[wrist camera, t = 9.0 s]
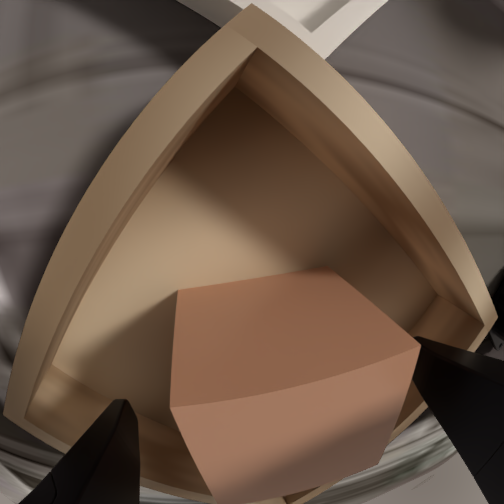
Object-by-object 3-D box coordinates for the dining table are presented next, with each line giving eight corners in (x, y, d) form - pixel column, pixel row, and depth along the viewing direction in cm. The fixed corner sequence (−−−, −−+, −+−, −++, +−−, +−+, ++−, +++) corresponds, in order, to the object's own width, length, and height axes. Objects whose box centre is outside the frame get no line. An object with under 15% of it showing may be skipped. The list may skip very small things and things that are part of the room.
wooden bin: (442, 283, 12) (498, 317, 9) (270, 458, 14) (287, 511, 10) (228, 62, 8) (251, 3, 4) (38, 353, 9) (3, 414, 6)
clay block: (327, 266, 10) (420, 345, 5) (323, 375, 11) (377, 464, 7) (177, 289, 9) (169, 407, 4) (205, 399, 11) (219, 507, 6)
